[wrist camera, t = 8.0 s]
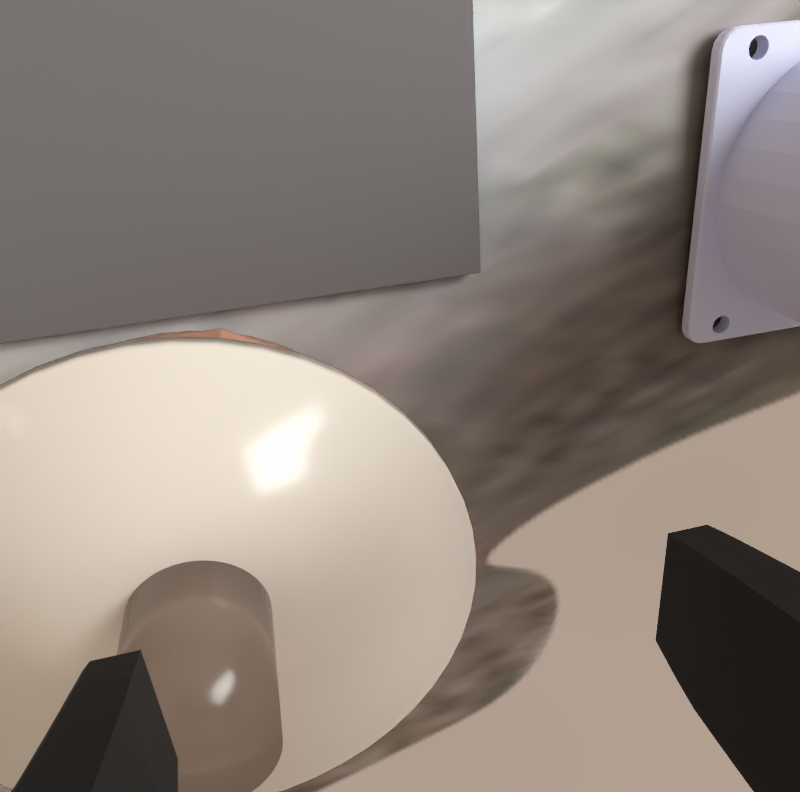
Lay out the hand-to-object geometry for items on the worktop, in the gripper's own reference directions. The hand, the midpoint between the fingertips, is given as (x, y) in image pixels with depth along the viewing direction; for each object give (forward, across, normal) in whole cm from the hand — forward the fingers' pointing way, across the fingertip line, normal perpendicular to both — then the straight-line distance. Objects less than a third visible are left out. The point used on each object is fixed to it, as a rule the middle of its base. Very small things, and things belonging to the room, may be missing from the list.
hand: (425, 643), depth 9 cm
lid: (+6, +4, +4) cm, 8 cm away
